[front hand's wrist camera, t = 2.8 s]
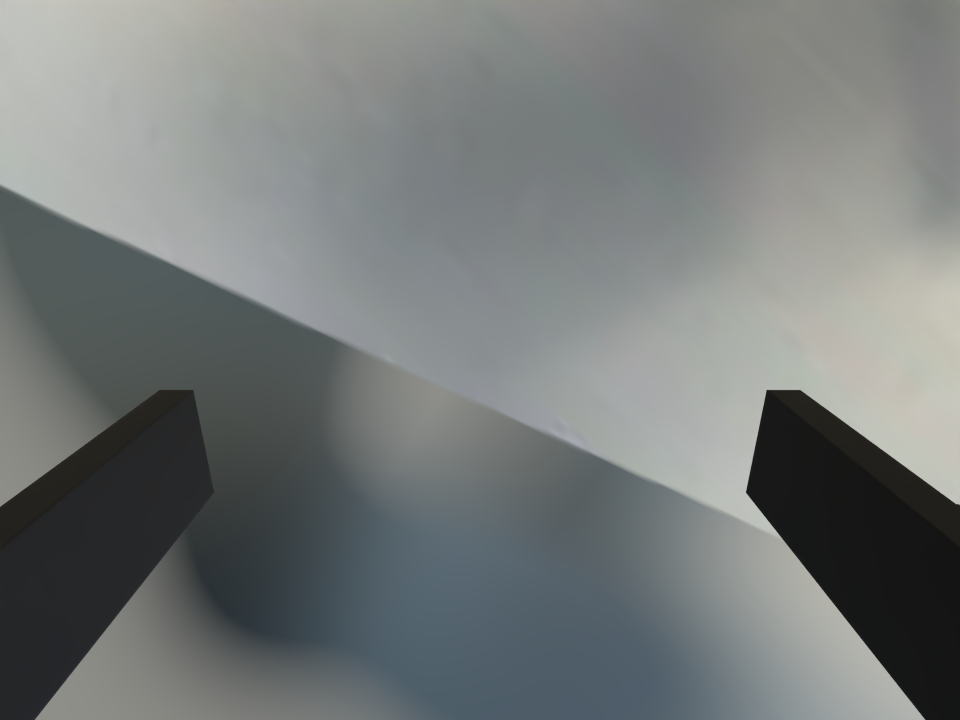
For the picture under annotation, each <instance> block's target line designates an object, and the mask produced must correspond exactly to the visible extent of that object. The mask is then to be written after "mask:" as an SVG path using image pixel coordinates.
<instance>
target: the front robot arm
mask: <svg viewBox="0 0 960 720" xmlns="http://www.w3.org/2000/svg"><path fill="white" fill-rule="evenodd" d="M213 493H214V490H213V485H212V480H211V475H210V471H209V466H208V461H207V456H206V451H205V446H204V441H203V436H202V431H201V426H200V421H199V417H198V412H197V406H196V402H195V397H194V392H193V390H159V391H158V392H156V393H155V394H154V395H152V396H151V397H150V398H148V399H147V400H146V401H144V402H143V403H142V404H140V405H139V406H137V407H136V408H135V409H133V410H132V411H131V412H129V413H128V414H126V415H125V416H124V417H122V418H121V419H120V420H118V421H117V422H116V423H114V424H113V425H111V426H110V427H109V428H107V429H106V430H105V431H103V432H102V433H101V434H99V435H98V436H96V437H95V438H94V439H92V440H91V441H90V442H88V443H87V444H85V445H84V446H83V447H81V448H80V449H79V450H77V451H76V452H75V453H73V454H72V455H71V456H69V457H68V458H66V459H65V460H64V461H62V462H61V463H60V464H58V465H57V466H56V467H54V468H53V469H51V470H50V471H49V472H47V473H46V474H45V475H43V476H42V477H40V478H39V479H38V480H36V481H35V482H34V483H32V484H31V485H30V486H28V487H27V488H25V489H24V490H23V491H21V492H20V493H19V494H17V495H16V496H15V497H13V498H12V499H10V500H9V501H8V502H6V503H5V504H4V505H2V506H1V507H0V720H35V719H36V717H37V716H38V715H39V714H40V712H41V711H42V710H43V709H44V707H45V706H46V705H47V703H48V702H49V701H50V700H51V698H52V697H53V696H54V695H55V693H56V692H57V691H58V690H59V688H60V687H61V686H62V684H63V683H64V682H65V681H66V679H67V678H68V677H69V675H70V674H71V673H72V672H73V671H74V669H75V668H76V667H77V665H78V664H79V663H80V662H81V660H82V659H83V658H84V657H85V655H86V654H87V653H88V652H89V650H90V649H91V648H92V646H93V645H94V644H95V643H96V641H97V640H98V639H99V637H100V636H101V635H102V634H103V632H104V631H105V630H106V629H107V627H108V626H109V625H110V624H111V622H112V621H113V620H114V619H115V617H116V616H117V615H118V613H119V612H120V611H121V610H122V608H123V607H124V606H125V605H126V603H127V602H128V601H129V600H130V598H131V597H132V596H133V594H134V593H135V592H136V591H137V589H138V588H139V587H140V586H141V584H142V583H143V582H144V581H145V579H146V578H147V577H148V575H149V574H150V573H151V572H152V570H153V569H154V568H155V567H156V565H157V564H158V563H159V562H160V560H161V559H162V558H163V556H164V555H165V554H166V553H167V551H168V550H169V549H170V548H171V546H172V545H173V544H174V543H175V541H176V540H177V539H178V537H179V536H180V535H181V534H182V532H183V531H184V530H185V529H186V527H187V526H188V525H189V524H190V522H191V521H192V520H193V518H194V517H195V516H196V515H197V513H198V512H199V511H200V510H201V508H202V507H203V506H204V504H205V503H206V502H207V501H208V499H209V498H210V497H211V496H212V494H213ZM746 493H747V494H748V496H749V497H750V498H751V499H752V501H753V502H754V503H755V505H756V506H757V507H758V508H759V510H760V511H761V512H762V513H763V515H764V516H765V517H766V518H767V520H768V521H769V522H770V524H771V525H772V526H773V527H774V529H775V530H776V531H777V532H778V534H779V535H780V536H781V537H782V539H783V540H784V541H785V543H786V544H787V545H788V546H789V548H790V549H791V550H792V551H793V553H794V554H795V555H796V556H797V558H798V559H799V560H800V562H801V563H802V564H803V565H804V567H805V568H806V569H807V570H808V572H809V573H810V574H811V575H812V577H813V578H814V579H815V581H816V582H817V583H818V584H819V586H820V587H821V588H822V589H823V591H824V592H825V593H826V594H827V596H828V597H829V598H830V600H831V601H832V602H833V603H834V605H835V606H836V607H837V608H838V610H839V611H840V612H841V613H842V615H843V616H844V617H845V619H846V620H847V621H848V622H849V624H850V625H851V626H852V627H853V629H854V630H855V631H856V632H857V634H858V635H859V636H860V638H861V639H862V640H863V641H864V643H865V644H866V645H867V646H868V648H869V649H870V650H871V651H872V653H873V654H874V655H875V657H876V658H877V659H878V660H879V662H880V663H881V664H882V665H883V667H884V668H885V669H886V671H887V672H888V673H889V674H890V676H891V677H892V678H893V679H894V681H895V682H896V683H897V684H898V686H899V687H900V688H901V690H902V691H903V692H904V693H905V695H906V696H907V697H908V698H909V700H910V701H911V702H912V703H913V705H914V706H915V707H916V708H917V710H918V711H919V712H920V713H921V715H922V716H923V717H924V719H925V720H960V505H959V504H955V503H954V502H952V501H951V500H950V499H948V498H947V497H945V496H944V495H943V494H941V493H940V492H939V491H937V490H936V489H935V488H933V487H932V486H930V485H929V484H928V483H926V482H925V481H924V480H922V479H921V478H920V477H918V476H917V475H915V474H914V473H913V472H911V471H910V470H909V469H907V468H906V467H905V466H903V465H902V464H900V463H899V462H898V461H896V460H895V459H894V458H892V457H891V456H890V455H888V454H887V453H885V452H884V451H883V450H881V449H880V448H879V447H877V446H876V445H875V444H873V443H872V442H870V441H869V440H868V439H866V438H865V437H864V436H862V435H861V434H859V433H858V432H857V431H855V430H854V429H853V428H851V427H850V426H849V425H847V424H846V423H844V422H843V421H842V420H840V419H839V418H838V417H836V416H835V415H834V414H832V413H831V412H829V411H828V410H827V409H825V408H824V407H823V406H821V405H820V404H819V403H817V402H816V401H814V400H813V399H812V398H810V397H809V396H808V395H806V394H805V393H804V392H802V391H801V390H767V392H766V397H765V401H764V406H763V411H762V416H761V421H760V426H759V431H758V436H757V441H756V446H755V451H754V456H753V461H752V466H751V470H750V475H749V480H748V485H747V490H746Z"/></svg>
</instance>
